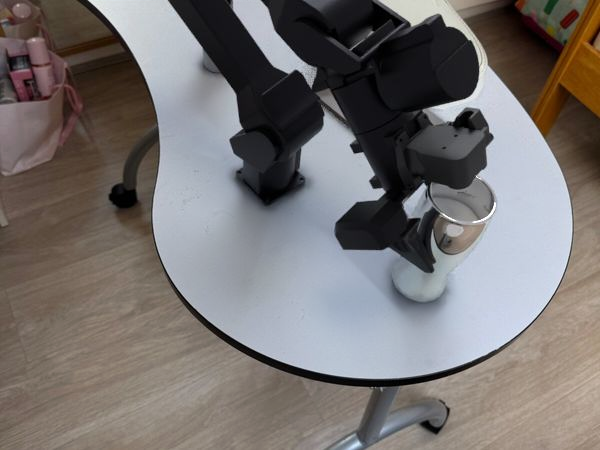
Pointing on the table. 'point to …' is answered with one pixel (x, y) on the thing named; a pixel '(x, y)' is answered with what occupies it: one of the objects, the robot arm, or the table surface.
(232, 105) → the table surface
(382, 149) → the robot arm
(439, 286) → the silver metal cup
